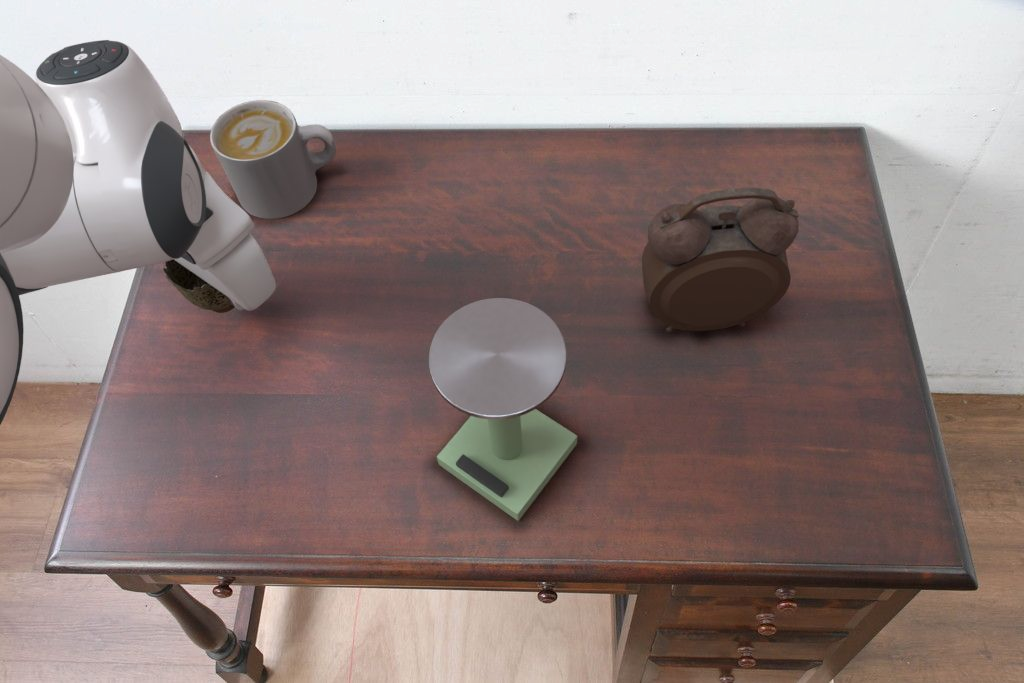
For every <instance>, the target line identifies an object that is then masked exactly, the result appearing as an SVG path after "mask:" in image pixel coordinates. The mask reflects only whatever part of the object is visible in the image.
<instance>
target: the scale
mask: <svg viewBox="0 0 1024 683" xmlns="http://www.w3.org/2000/svg"><path fill="white" fill-rule="evenodd" d="M577 445H578V435H576V433H574V432H572V431H571V430H569V429H568V428H566V427H564V426H563V425H561V424H560V423H559V422H557V421H555V420H553V419H552V418H551V417H549V416H547V414H544V413H543V412H542V411H540V410H538V408H536V409H535V410H533V411H531V412H529V413H527V414H524V415H521V416H519V417H515V418H510V419H503V420H487V419H481V418H477V417H473V416H469V417H468V419H467V420H466V421H465V422H464V423H463V425H461V427H460V428H459V430H458V431H457V432H456V433H455V434H454V435H453V436H452V438H450V440H449V441H448V442H447V443H446V445H445V446H444V447H443V448H442V450H441V451H440V452H439V453H438V454H437V455H436V461H437V463H438V465H439V466H440V468H443V469H444V470H445V471H447V472H448V473H449V474H451V475H452V476H454V478H455V477H456V478H457V479H458V480H459V481H460V482H462V483H463V484H465V485H466V486H468V487H469V488H471V489H472V490H474V491H475V492H477V493H478V494H479V495H481V497H484V498H485V499H486V500H488V501H489V502H490V503H492V504H493V505H495V506H496V507H497V508H498V509H500V510H502V511H503V512H504V513H506V514H507V515H508V516H510V517H511V518H513V519H514V520H516V521H517V522H519V521H520V520H521V519H522V517H523V516H524V515H525V513H526V512H527V511H528V509H529V508H530V507H531V505H532V504H533V502H534V501H535V500H536V499H537V498H538V496H539V495H540V494H541V492H542V491H543V490H544V488H545V487H546V486H547V484H548V483H549V482H550V480H551V479H552V477H553V476H554V475H555V474H556V472H557V471H558V470H559V469H560V467H561V466H562V464H563V463H564V462H565V461H566V459H567V458H568V457H569V456H570V454H571V452H572V451H573V450H574V448H575V447H576V446H577Z"/></svg>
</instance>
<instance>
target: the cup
mask: <svg viewBox="0 0 1024 683" xmlns="http://www.w3.org/2000/svg"><path fill="white" fill-rule="evenodd" d="M164 263H165V267H162V269H163V272H164V274H165V275H166V276H165V277H166V279H167V280H168V282H170V284H172V285H173V287H174V288H175V289H176V290H177V291H178V292H179V294H181V295H182V296H183V297H184V299H186V301H188V302H189V303H190V304H192V305H194V306H195V307H197V308H200V309H203V310H207V311H212V312H214V313H217V314H225V313H229V312H230V311H233V310H234V309H236V308H235V307H234V306H233V305H231V304H230V303H229V301H228V300H227V298H226V295H224V294H223V293H222V292H220V291H219V290H217V289H216V288H214V287H213V286H211V285H210V284H209V283H207V282H206V281H204V280H203V279H201V278H200V277H198V276H197V275H196V274H194V273H193V272H191V271H190V270H188V269H187V268H185V267H184V266H183V265H181V264H180V263H178V262H177V261H175V260H174V259H173V260H170V261H167V262H164Z"/></svg>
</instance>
